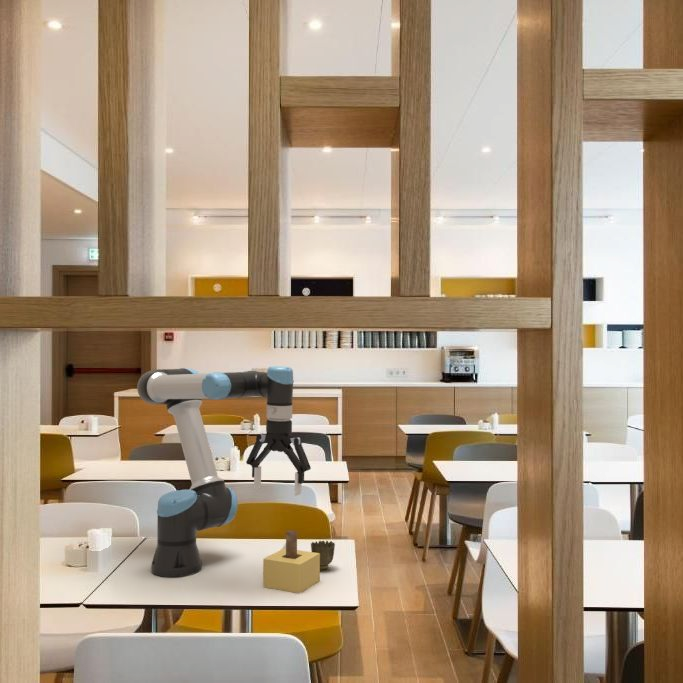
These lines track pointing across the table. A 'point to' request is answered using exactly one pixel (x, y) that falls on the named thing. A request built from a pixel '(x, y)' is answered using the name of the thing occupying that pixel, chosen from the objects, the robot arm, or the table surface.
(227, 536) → the table surface
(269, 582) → the hole block
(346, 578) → the table surface
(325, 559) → the cup
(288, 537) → the walnut peg
